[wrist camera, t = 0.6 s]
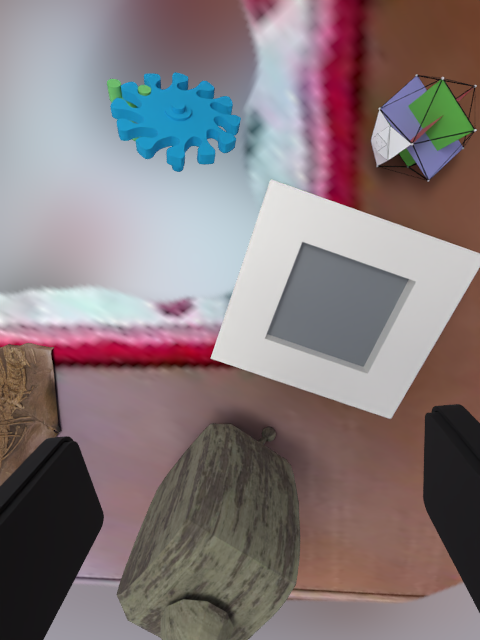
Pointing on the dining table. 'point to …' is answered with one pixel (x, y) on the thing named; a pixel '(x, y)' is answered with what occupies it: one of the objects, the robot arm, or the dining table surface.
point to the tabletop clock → (216, 542)
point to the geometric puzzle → (421, 126)
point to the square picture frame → (340, 300)
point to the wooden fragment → (25, 403)
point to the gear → (173, 118)
